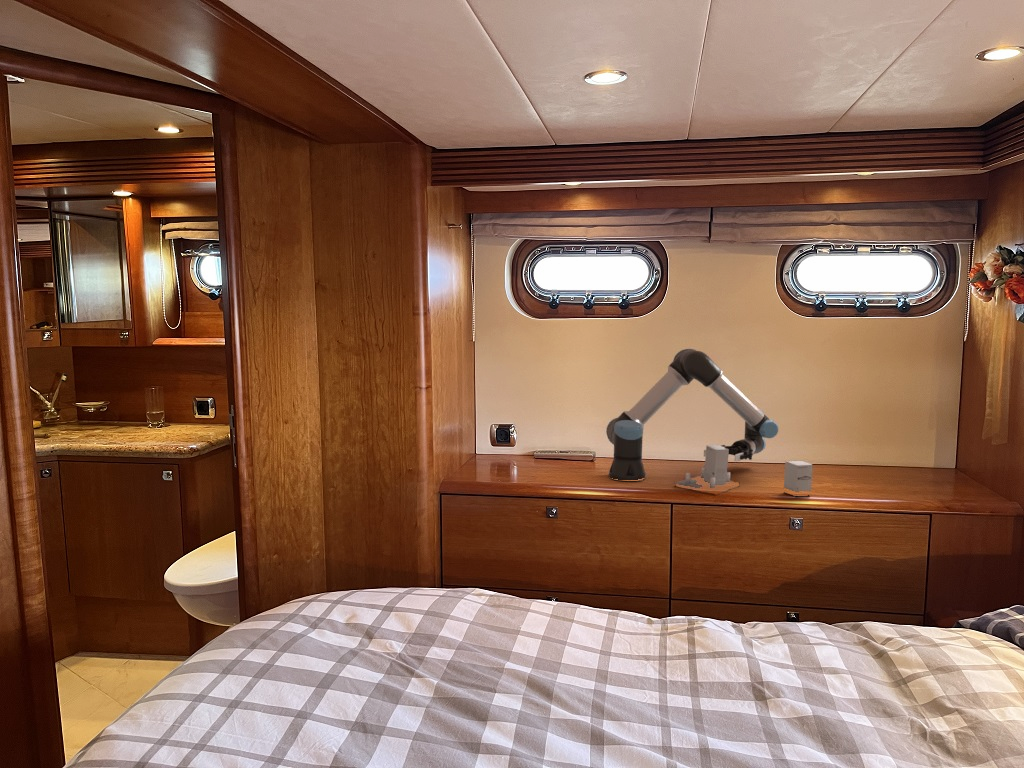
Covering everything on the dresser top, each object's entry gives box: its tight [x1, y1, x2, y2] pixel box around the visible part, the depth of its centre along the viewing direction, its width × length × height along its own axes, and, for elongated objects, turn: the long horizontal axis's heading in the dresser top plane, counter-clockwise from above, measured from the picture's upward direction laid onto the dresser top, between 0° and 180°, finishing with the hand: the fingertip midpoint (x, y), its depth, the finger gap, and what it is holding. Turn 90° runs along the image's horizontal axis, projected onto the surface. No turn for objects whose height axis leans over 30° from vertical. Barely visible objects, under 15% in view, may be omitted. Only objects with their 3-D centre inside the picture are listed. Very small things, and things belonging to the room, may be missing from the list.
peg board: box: [674, 467, 731, 488], centre depth 298 cm, size 18×20×6 cm
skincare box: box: [704, 444, 730, 485], centre depth 297 cm, size 8×6×15 cm
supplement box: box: [783, 460, 814, 492], centre depth 287 cm, size 7×7×13 cm
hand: (719, 455), depth 304 cm, fingers open, 13 cm apart
